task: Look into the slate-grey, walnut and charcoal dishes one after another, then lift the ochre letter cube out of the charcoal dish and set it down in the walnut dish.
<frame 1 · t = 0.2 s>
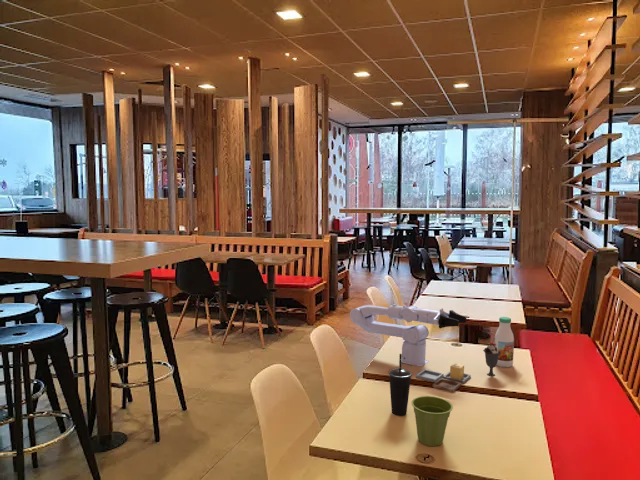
hand: (462, 321, 202), 21 cm above the table, tool horizontal, fingers open, 7 cm apart
left dish: (429, 378, 199), on the table
drinking cup: (399, 413, 169), on the table
letter cube: (456, 378, 198), resting on back dish
front dish: (446, 387, 190), on the table
sundae: (490, 376, 202), on the table
milk bottle: (503, 365, 214), on the table
back dish: (456, 379, 198), on the table
plant pot: (430, 441, 150), on the table
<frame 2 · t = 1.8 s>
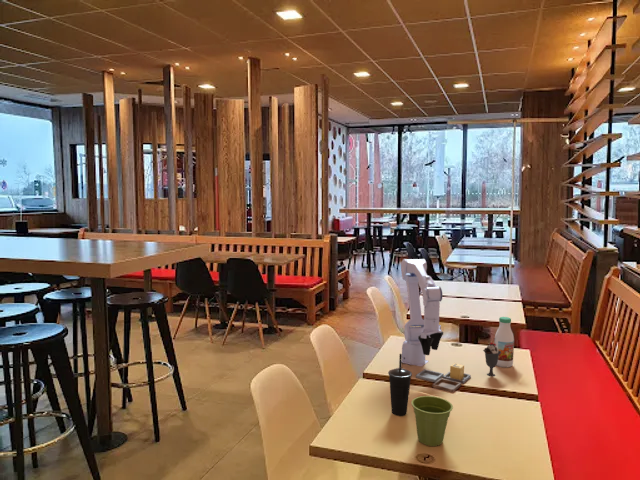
hand: (430, 352, 198), 10 cm above the table, tool pointing down, fingers open, 7 cm apart
nothing on the table moved.
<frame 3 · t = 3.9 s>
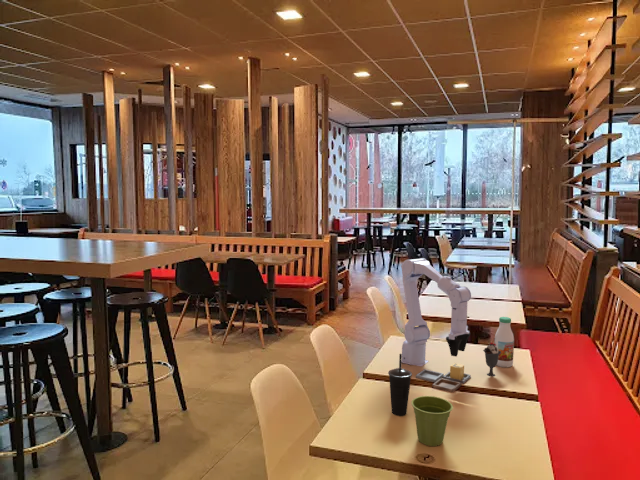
hand: (457, 353, 197), 10 cm above the table, tool pointing down, fingers open, 7 cm apart
nothing on the table moved.
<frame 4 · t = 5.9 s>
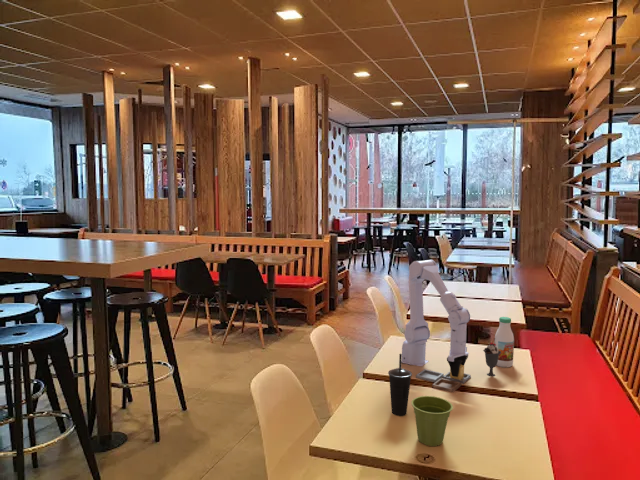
hand: (457, 374, 198), 2 cm above the table, tool pointing down, fingers closed on letter cube, 4 cm apart
letter cube: (456, 378, 198), resting on back dish, touching gripper
everything else where it was.
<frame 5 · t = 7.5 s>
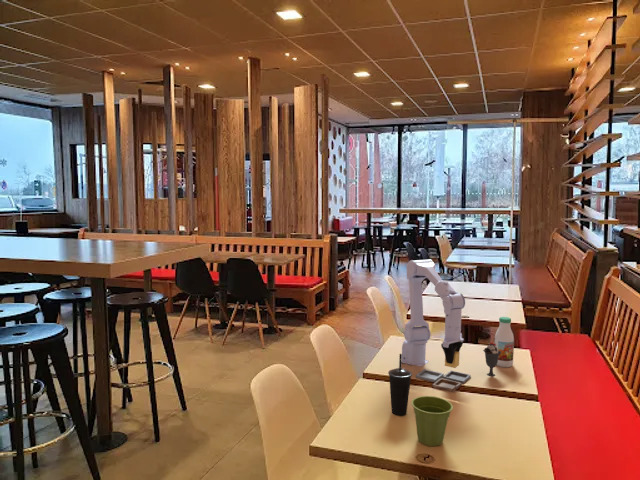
hand: (451, 361, 192), 9 cm above the table, tool pointing down, fingers closed on letter cube, 4 cm apart
letter cube: (451, 365, 192), point 7 cm above the table, touching gripper
everything else where it was.
when the fingers open (3 cm above the table, at t = 9.2 s): letter cube drops 1 cm, resting on front dish.
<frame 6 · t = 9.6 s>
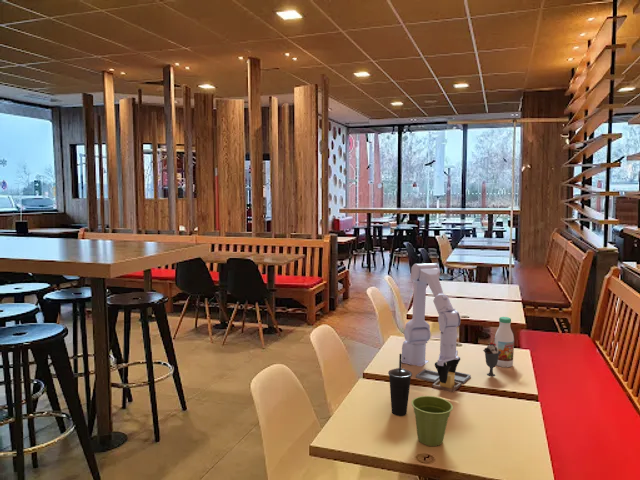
hand: (447, 379, 189), 3 cm above the table, tool pointing down, fingers open, 7 cm apart
letter cube: (447, 386, 190), resting on front dish
everything else where it was.
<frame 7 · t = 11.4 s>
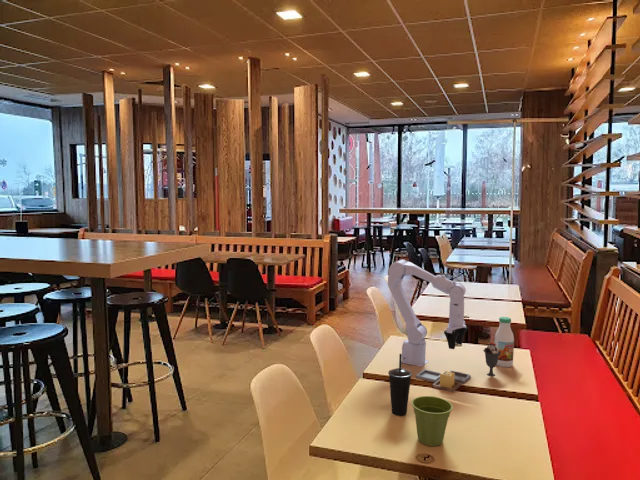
hand: (455, 346, 208), 9 cm above the table, tool pointing down, fingers open, 7 cm apart
nothing on the table moved.
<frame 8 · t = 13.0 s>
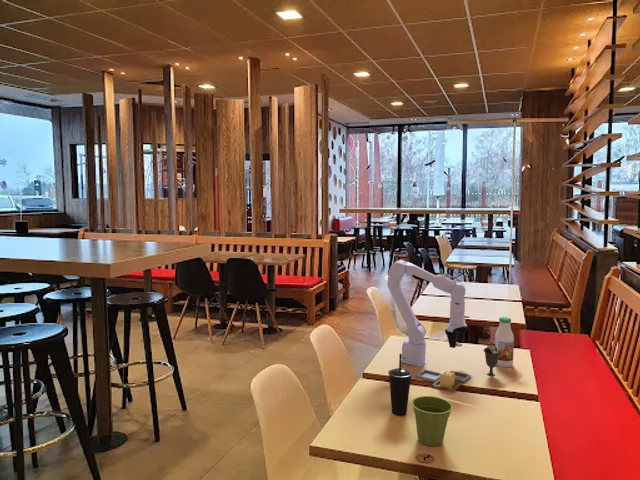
hand: (456, 344, 210), 9 cm above the table, tool pointing down, fingers open, 7 cm apart
nothing on the table moved.
at the end: letter cube 0.1 cm off-centre on the front dish, point 0.5 cm above the front dish's base; letter cube tilted 0°; the gripper is holding nothing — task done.
